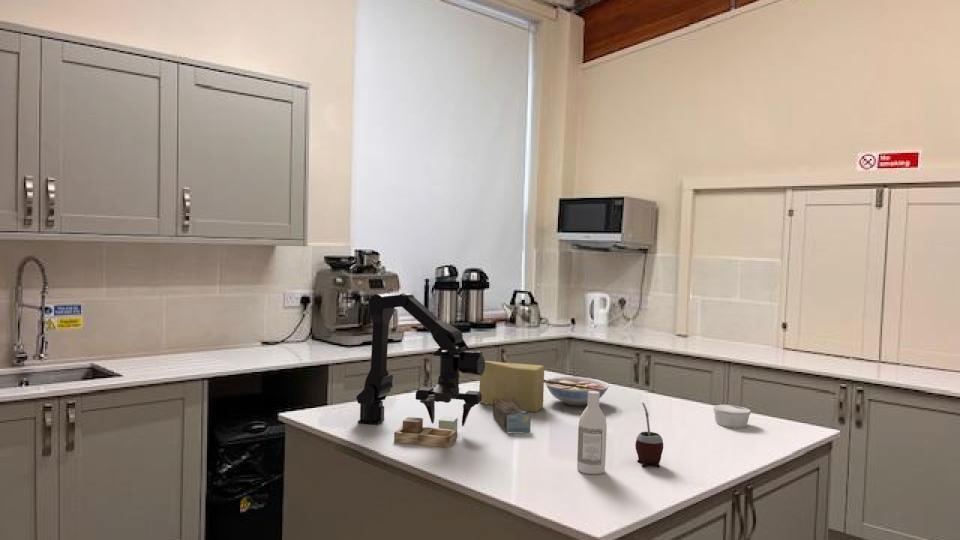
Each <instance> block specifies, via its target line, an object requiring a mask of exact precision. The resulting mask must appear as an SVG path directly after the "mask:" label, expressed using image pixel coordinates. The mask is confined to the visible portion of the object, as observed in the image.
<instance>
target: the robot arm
mask: <svg viewBox="0 0 960 540" xmlns="http://www.w3.org/2000/svg"><path fill="white" fill-rule="evenodd" d="M367 306H368V315H369V317H370V320H371V322H372V330H371V331H372V332H371V333H372V335H371V352H370V353H371V355H370V356H371V357H370V369H369V371H368V374H367V375H366V378H365V382H364V386H363V390H362V391H361V392H359V393H358V394H357V396H356V401H357V403H358V404H360V405H359V406H360V407H359V408H360V410H359V419H358V420H357V423H359V424H369V425H378V424H381V422H383V421H384V420H385V405H384V403H383V402H384V401H385V400H386V398H387V396H388V394H390V393H391V389H392V388H394V386H393V378H394V375H393V374H390V373H389V371H388V369H387V365H388V362H387V361H388V346H389V343H388V342H389V326H390V325H389V324H390V321H391V319H392V318H393V316H394V312H395V308H402V309H404V310H405V311H406V312H407V313H408V314H409V315H410V316H412V318H414V319H415V320H416V321H417V322H418V323H419V324H421V326H423V327H424V328H425V329H426V330H427V331H429V333H430V334H431V337H432V339H433V341H434V342H435V344H437V345H438V349H437V350H436V351H435V352H434V353H433V354H432V356H434V357H439V375H438V379H437V380H438V381H437V383H436V386H435V388H434V387H429V386H421V387H419V388H418V389H417V390H416V392H415V400H417V401H418V400H419V402H420V404H421V403H422V404H423V405H424V406H425V408H426V409H427V410H426V411H427V413H428V416H429V419H430V422H431V424H434V423H435V418H436V417H435V415H436V414H435V410H436V408H435V406H436V405H435V403H436V402H437V403H439V402H440V403H446V404H447V403H450V402H451V401H452V400H462V401H464V403H463V405H462V408H463V410H462V418H461V426H462V427H464V426H465V424H466V421H467V418H468V416H469V413H470V411H471V409H472V408H473V407H474V406H476V405H478V404H480V401H481V399H482V395H481V393H480V391H479V390H478V391H477V390H467V392H465V393H464V392H462V393H461V392H460V386H459V385H460V384H459V383H460V376H461V375H460V373H461V374H463V375H473V376H479V377H480V376H481V375H482V374H483V372H484V370H485V361H486V360H485V357H484V356H483V351H482V350H481V351H479V350H478V351H475V350H470V348H469V346H468V345H467V343H466V341H465V340H464V337H463V336H464V335H463V332H462V331H461V330H460V329H458V328H457V327H455V326H453V325H452V324H449V323H447V322H444V321H442V319H440V318H439V317H438V316H436V315H435V314H434V313H433V312H432V311H431V310H430V309H428V308H427V307H426V306H425V305H424V304H422V303H421V302H420V301H419V300H418V299H417V298H416V297H415V295H413V294H412V293H410V292H405V293H400V294H397V295H392V294H390V293H389V292H385V293H377V294H373V295H371V297H369V299H368V302H367Z"/></svg>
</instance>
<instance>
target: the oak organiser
mask: <svg viewBox="0 0 960 540" xmlns="http://www.w3.org/2000/svg"><path fill="white" fill-rule="evenodd" d="M402 430H403V425H402V426H401V427H400V428H398V429H397V430H395V431H394V432H393V433H394V434H393V435H394V436H393V442H394V443H398V442H400V444H408V443H412V444H411V445H418V444H420V445H421V446H430V447H441V448H448V447H449V448H450V447H452V446H453V444H455V442H456V441H457V440H458V438H457V437H458V436H457V435H458V429H457V430H450V429H439V427H438V428H437V427H426V426H423V431H422V432H421V433H420V434H415V433H405V432H402ZM456 439H457V440H456Z"/></svg>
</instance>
